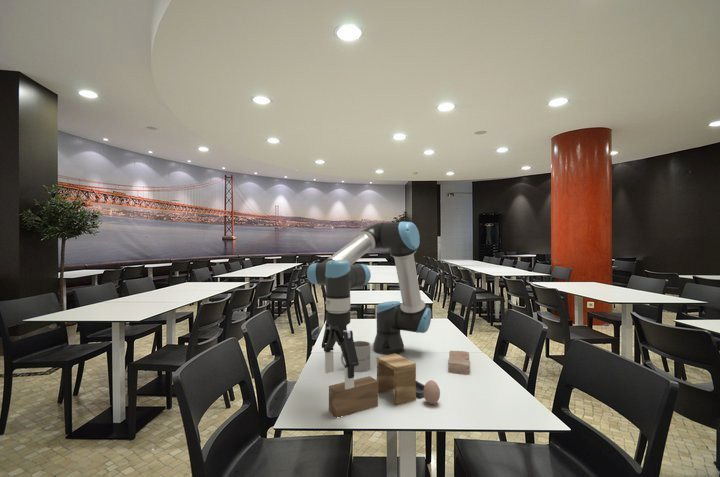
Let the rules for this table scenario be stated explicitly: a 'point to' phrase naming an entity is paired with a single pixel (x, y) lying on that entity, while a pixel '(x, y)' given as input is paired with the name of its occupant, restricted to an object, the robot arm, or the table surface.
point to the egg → (431, 392)
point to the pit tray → (419, 390)
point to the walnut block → (353, 397)
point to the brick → (459, 362)
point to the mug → (361, 356)
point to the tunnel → (397, 377)
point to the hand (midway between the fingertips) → (338, 379)
